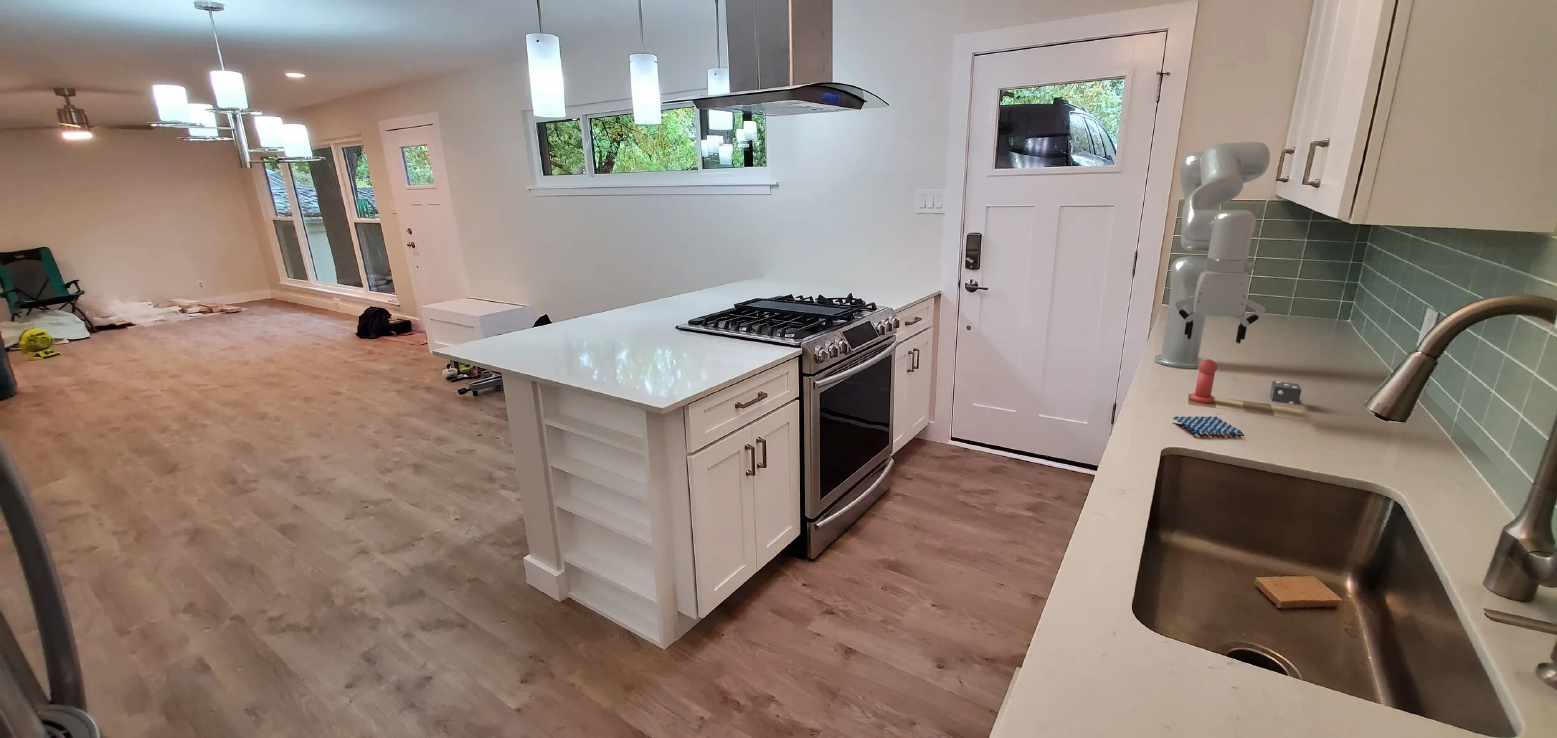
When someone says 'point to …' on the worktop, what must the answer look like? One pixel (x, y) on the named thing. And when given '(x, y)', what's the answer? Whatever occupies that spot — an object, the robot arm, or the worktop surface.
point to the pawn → (1205, 382)
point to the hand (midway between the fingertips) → (1213, 340)
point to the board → (1252, 407)
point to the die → (1285, 392)
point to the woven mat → (1207, 427)
